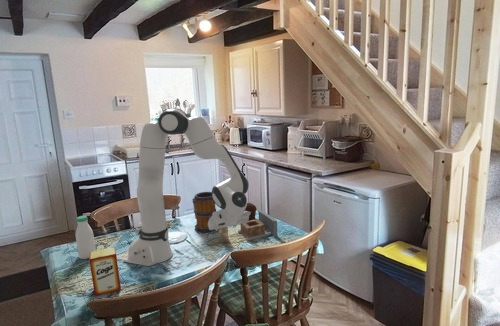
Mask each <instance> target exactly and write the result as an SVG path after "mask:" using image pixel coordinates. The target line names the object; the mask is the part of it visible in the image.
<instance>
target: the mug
mask: <svg viewBox="0 0 500 326" xmlns="http://www.w3.org/2000/svg"><path fill="white" fill-rule="evenodd" d="M193 197H194V198H193ZM193 197H192V204H193V212H194V218H195V220H196V224H195V225H194V231H195V232H196V233H198V234H202V235H203V234H204V235H205V234H211V233H215V232H217V231H216V230H215V229H214V230H209V227H208V221H209V219H210V218H211V217H212V216H213V215H212V214H213V212H216V211H217V208H216V204H215V203H214V201H213V199H212V191H202V192H198V193H195V195H194V196H193ZM219 230H220V228H219Z"/></svg>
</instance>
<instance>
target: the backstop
mask: <svg viewBox="0 0 500 326" xmlns="http://www.w3.org/2000/svg"><path fill="white" fill-rule="evenodd" d="M257 212H258V220H259V221H261V222H262V223H263V224H265V233H264V234H260V235H256V236H251V237H247V238H246V237H245V241H252V240H255V239H260V238H264V237H269V236H272V237H273V238H277V237H278V220H277V219H275V218H274V217H273V216H271V215H269V214H268V213H267V212H265V211H264V210H263V209H260V210H258V211H257ZM237 232H238V234H241V229H238V231H237Z"/></svg>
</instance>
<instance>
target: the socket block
mask: <svg viewBox="0 0 500 326" xmlns="http://www.w3.org/2000/svg"><path fill="white" fill-rule="evenodd" d="M240 230H241V233H240V234H241V235H242V236H244V238H245V239H246V238H247V237H251V236H256V235H260V234H264V233H266V231H265V224H263V223H262V222H261V221H259V218H255V220H250V221H248V222H246V223H242V224H240Z"/></svg>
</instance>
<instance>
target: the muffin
mask: <svg viewBox="0 0 500 326" xmlns="http://www.w3.org/2000/svg"><path fill="white" fill-rule="evenodd" d="M245 211H249V212H251V214H250V215H249V220H248V221H250V220H255V219H256V216H257V215H256V214H257V206H256V205H255V204H253V203H251V202H247V206H246V209H245Z"/></svg>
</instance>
